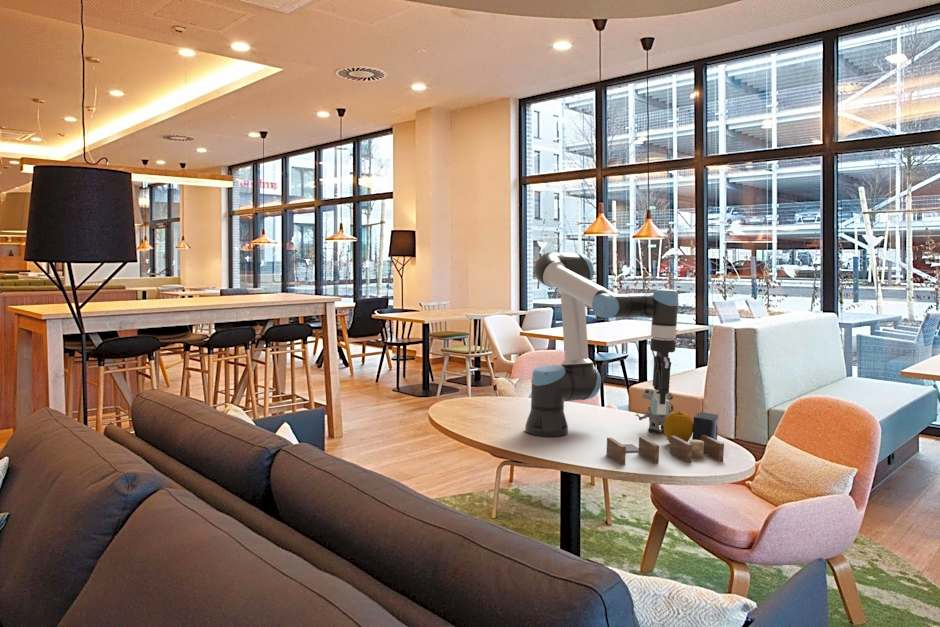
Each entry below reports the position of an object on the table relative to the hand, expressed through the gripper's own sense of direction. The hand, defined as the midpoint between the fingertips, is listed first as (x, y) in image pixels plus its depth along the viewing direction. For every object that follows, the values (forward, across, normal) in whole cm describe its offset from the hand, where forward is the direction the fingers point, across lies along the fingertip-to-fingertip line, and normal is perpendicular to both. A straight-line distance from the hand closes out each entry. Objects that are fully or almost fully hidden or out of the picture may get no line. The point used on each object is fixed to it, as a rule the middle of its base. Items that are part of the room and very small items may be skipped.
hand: (659, 411), depth 216 cm
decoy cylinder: (+14, +1, -12) cm, 19 cm away
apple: (+14, +15, -10) cm, 23 cm away
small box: (+14, +15, -19) cm, 28 cm away
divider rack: (+14, -2, -2) cm, 14 cm away
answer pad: (+14, +7, +9) cm, 18 cm away
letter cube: (0, 0, 0) cm, 0 cm away
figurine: (+15, +35, -7) cm, 38 cm away
